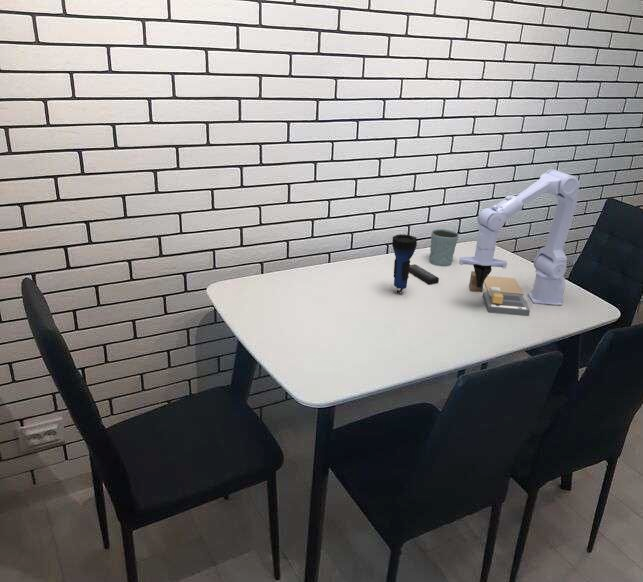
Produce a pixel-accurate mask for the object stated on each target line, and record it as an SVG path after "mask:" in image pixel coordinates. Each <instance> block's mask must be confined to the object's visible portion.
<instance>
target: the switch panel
mask: <svg viewBox="0 0 643 582" xmlns="http://www.w3.org/2000/svg"><path fill="white" fill-rule="evenodd" d="M500 294H502V295H503V301H502V304H497V303H492V300H491V299H492V297H490V295H489V292H487V291H482V300H483V303H484V306H485V309H486V312H487V313H494V314H504V315H513V316H515V315H516V316H527V317H529V316H530V312H531V309H530V307H529V305H528V304H527V302H526V300H525V298H524V297H525V296H524V294H523V295H519V294H507V293H500Z"/></svg>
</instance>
